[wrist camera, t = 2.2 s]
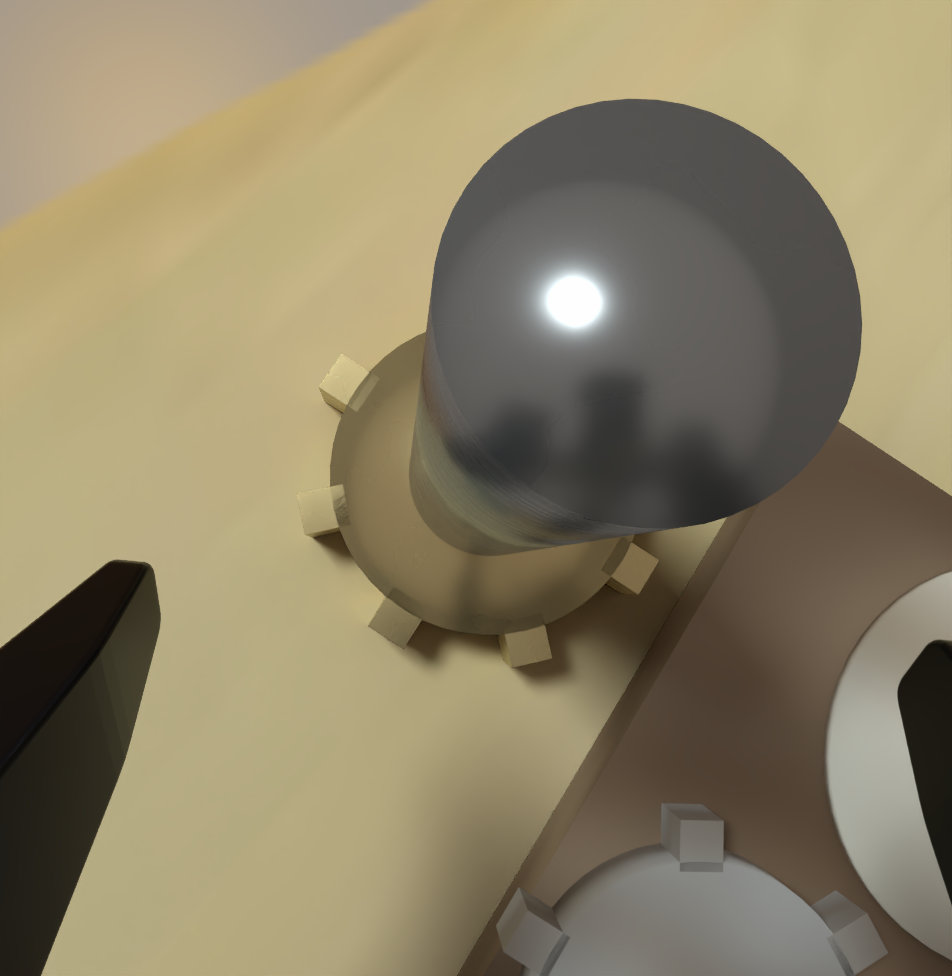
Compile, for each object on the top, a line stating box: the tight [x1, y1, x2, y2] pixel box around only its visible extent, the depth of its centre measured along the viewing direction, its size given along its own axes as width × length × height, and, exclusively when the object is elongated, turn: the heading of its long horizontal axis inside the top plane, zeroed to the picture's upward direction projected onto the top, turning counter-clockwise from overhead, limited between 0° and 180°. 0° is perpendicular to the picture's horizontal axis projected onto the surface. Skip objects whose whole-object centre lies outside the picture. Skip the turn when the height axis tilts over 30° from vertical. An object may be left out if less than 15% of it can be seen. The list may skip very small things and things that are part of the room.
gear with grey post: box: [297, 99, 862, 668], centre depth 13 cm, size 8×8×13 cm
